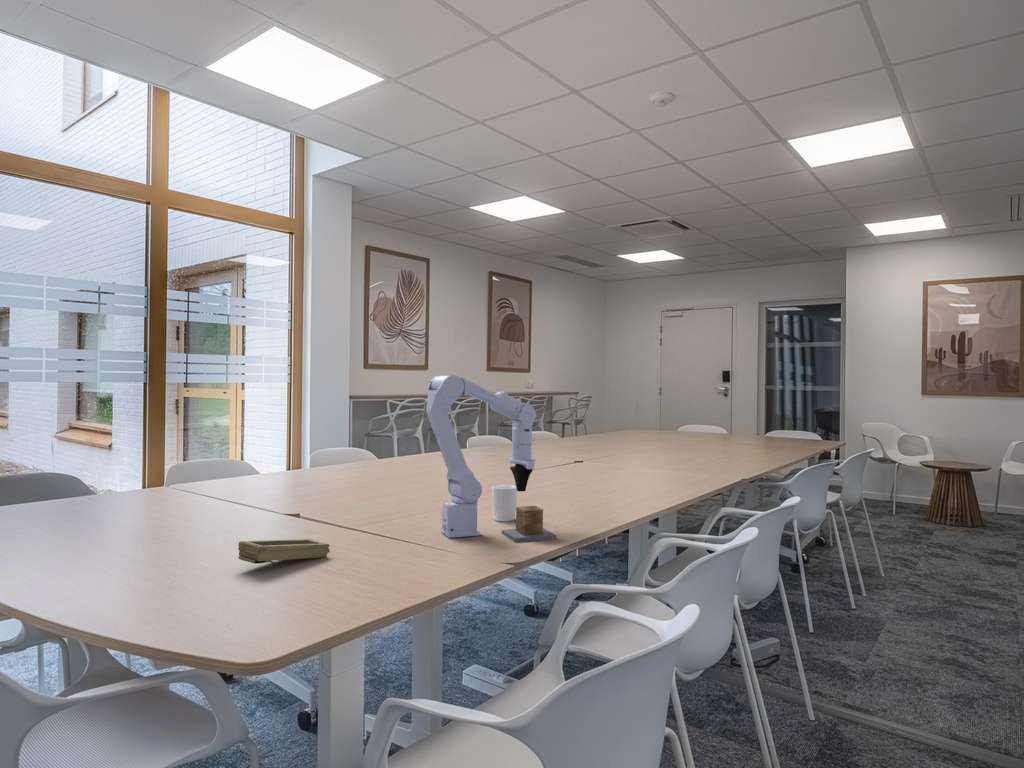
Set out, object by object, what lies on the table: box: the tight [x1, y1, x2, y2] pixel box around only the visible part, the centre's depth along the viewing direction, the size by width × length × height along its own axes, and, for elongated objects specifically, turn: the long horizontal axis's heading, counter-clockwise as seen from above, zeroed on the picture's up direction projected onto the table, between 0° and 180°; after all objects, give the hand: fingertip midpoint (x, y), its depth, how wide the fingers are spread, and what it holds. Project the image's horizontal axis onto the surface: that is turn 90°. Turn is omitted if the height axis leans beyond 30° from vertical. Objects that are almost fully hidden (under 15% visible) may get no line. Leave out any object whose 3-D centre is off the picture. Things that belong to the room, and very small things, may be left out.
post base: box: [501, 527, 558, 543], centre depth 169 cm, size 12×10×5 cm
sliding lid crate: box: [515, 505, 544, 536], centre depth 169 cm, size 6×6×7 cm
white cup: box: [491, 484, 518, 522], centre depth 190 cm, size 8×8×10 cm
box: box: [237, 538, 330, 566], centre depth 142 cm, size 8×22×5 cm, turn 147°
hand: (521, 491), depth 180 cm, fingers closed
